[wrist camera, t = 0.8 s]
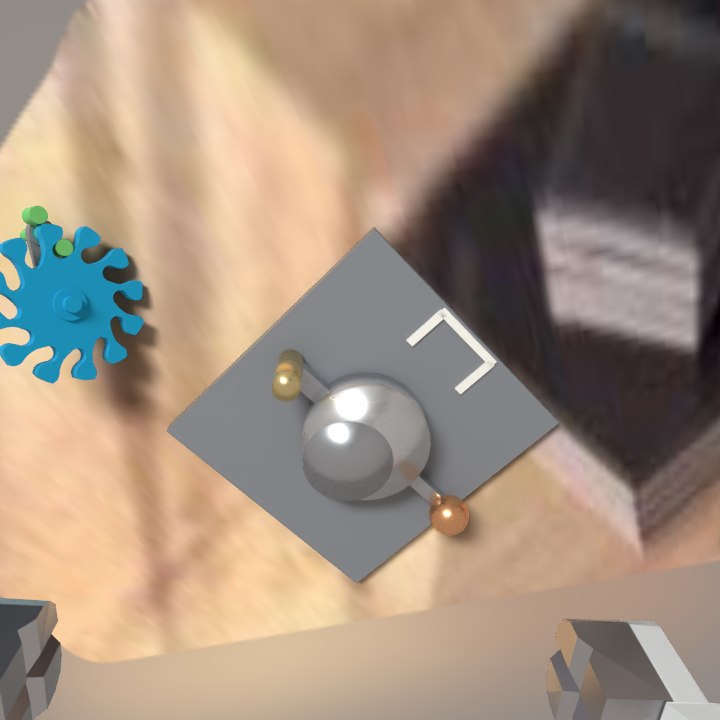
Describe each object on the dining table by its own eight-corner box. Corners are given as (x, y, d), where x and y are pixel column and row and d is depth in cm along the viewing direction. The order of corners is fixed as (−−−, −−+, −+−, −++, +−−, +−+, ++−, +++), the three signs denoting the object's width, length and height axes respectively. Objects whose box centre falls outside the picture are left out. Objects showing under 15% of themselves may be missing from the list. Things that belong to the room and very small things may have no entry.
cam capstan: (327, 309, 43) (326, 332, 39) (502, 478, 49) (518, 514, 45) (233, 398, 46) (222, 429, 41) (410, 550, 51) (417, 591, 47)
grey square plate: (374, 226, 43) (375, 230, 42) (555, 416, 48) (560, 424, 47) (169, 424, 48) (165, 432, 47) (356, 574, 54) (356, 585, 52)
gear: (162, 361, 44) (8, 406, 37) (123, 354, 48) (-22, 394, 41) (128, 196, 41) (-45, 213, 35) (89, 204, 45) (-72, 221, 39)
